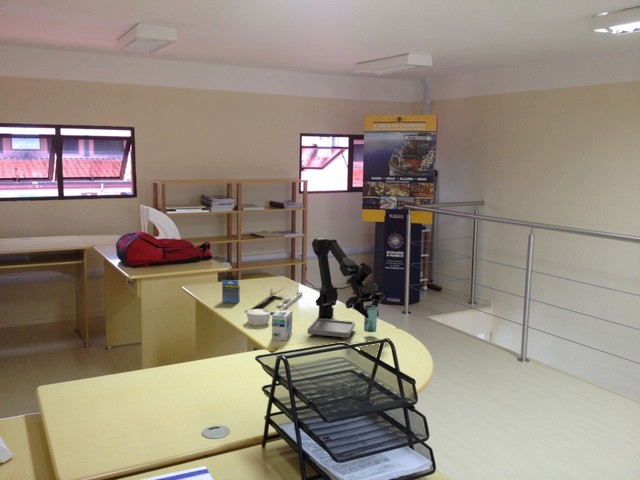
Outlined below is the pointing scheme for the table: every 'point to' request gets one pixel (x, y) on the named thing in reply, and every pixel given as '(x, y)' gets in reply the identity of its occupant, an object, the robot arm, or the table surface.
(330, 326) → the shallow grey tray
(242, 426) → the table surface
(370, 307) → the teal canister
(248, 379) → the table surface
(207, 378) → the table surface
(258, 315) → the ramekin
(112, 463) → the table surface
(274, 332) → the light bulb box
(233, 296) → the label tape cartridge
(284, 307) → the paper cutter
